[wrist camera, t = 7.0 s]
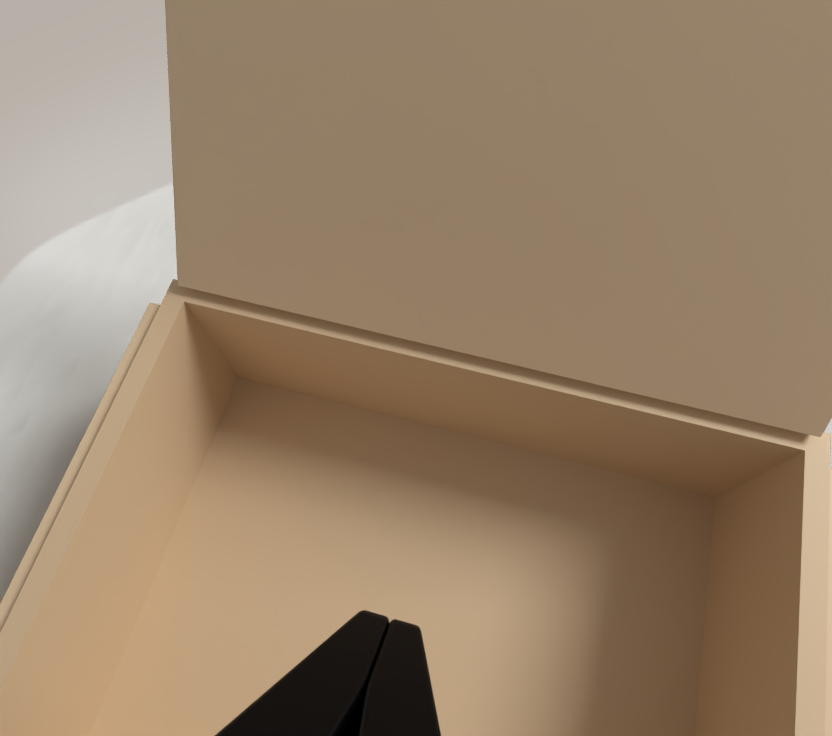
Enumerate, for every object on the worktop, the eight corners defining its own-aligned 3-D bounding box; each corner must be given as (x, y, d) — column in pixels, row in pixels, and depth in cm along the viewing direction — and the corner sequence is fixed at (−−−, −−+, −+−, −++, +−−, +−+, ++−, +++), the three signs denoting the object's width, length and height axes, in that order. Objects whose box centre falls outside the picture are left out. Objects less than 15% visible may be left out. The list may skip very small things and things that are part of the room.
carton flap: (1134, -114, 10) (1115, -109, 11) (153, -237, 12) (166, -230, 13) (820, 437, 16) (815, 428, 16) (177, 285, 18) (186, 279, 18)
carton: (702, 1046, 16) (843, 1255, 11) (31, 805, 18) (-140, 872, 13) (742, 491, 22) (849, 438, 16) (221, 361, 24) (158, 275, 18)
